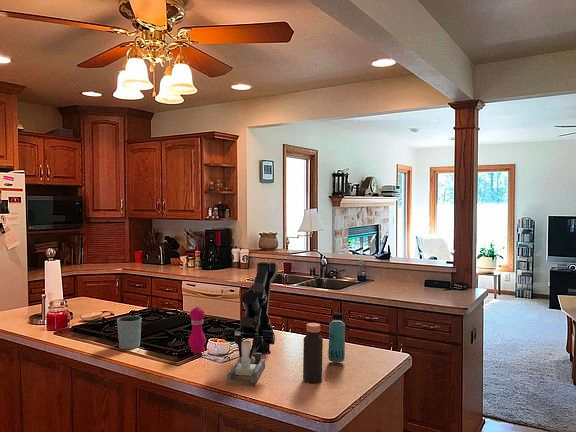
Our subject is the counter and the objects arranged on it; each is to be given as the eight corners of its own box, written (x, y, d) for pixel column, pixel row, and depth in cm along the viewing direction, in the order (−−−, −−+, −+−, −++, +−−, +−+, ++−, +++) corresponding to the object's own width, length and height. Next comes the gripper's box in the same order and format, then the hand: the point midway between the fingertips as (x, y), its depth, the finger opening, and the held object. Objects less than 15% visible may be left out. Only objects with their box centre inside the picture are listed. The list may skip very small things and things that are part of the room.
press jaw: (239, 368, 177) (239, 339, 176) (256, 369, 176) (256, 340, 175) (235, 374, 171) (235, 344, 170) (252, 376, 170) (253, 345, 169)
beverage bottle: (335, 359, 194) (336, 310, 193) (348, 363, 189) (349, 313, 188) (324, 363, 189) (325, 312, 188) (337, 367, 184) (338, 315, 184)
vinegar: (308, 385, 167) (309, 328, 166) (299, 378, 173) (300, 323, 172) (325, 382, 170) (326, 326, 169) (316, 375, 176) (317, 321, 175)
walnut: (254, 363, 183) (254, 354, 183) (256, 366, 180) (256, 357, 180) (244, 364, 182) (244, 354, 182) (246, 367, 179) (246, 358, 179)
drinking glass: (131, 351, 200) (131, 322, 200) (111, 348, 203) (111, 320, 203) (146, 344, 210) (146, 316, 209) (126, 341, 213) (126, 314, 212)
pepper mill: (206, 349, 204) (207, 302, 203) (204, 355, 197) (204, 306, 196) (189, 349, 204) (190, 302, 203) (186, 355, 196) (187, 306, 196)
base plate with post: (239, 365, 185) (239, 351, 184) (265, 367, 183) (265, 353, 183) (226, 384, 166) (226, 368, 166) (255, 386, 165) (255, 370, 165)
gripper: (224, 306, 178) (215, 345, 167) (274, 308, 175) (268, 348, 164) (229, 322, 186) (221, 360, 175) (277, 324, 183) (272, 363, 173)
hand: (245, 357), depth 172 cm, fingers closed on press jaw, 3 cm apart
